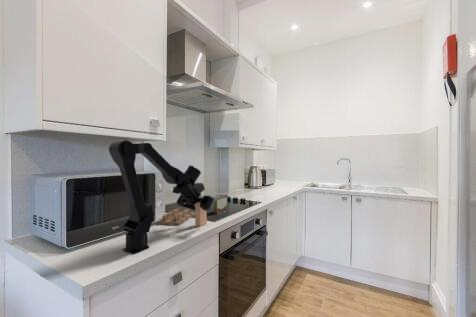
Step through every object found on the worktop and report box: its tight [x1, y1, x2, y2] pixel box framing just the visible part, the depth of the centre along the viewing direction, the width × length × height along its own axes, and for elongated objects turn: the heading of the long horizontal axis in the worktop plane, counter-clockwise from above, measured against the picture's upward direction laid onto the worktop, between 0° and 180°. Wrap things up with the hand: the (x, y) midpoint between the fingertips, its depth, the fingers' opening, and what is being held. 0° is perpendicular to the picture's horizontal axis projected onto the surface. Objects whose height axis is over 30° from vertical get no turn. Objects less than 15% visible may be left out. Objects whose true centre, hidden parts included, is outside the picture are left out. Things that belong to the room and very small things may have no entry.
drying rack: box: [156, 207, 195, 226], centre depth 119 cm, size 20×12×4 cm, turn 170°
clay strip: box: [194, 203, 208, 228], centre depth 108 cm, size 5×3×13 cm, turn 150°
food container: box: [212, 194, 229, 215], centre depth 135 cm, size 12×6×10 cm, turn 149°
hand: (202, 210), depth 110 cm, fingers open, 9 cm apart
